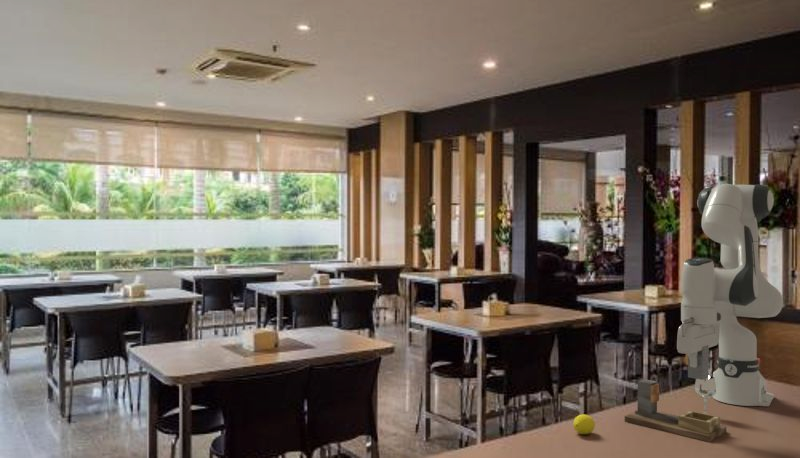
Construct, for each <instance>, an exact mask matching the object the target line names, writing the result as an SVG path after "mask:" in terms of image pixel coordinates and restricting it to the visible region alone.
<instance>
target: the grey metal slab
mask: <svg viewBox="0 0 800 458" xmlns="http://www.w3.org/2000/svg"><path fill="white" fill-rule="evenodd" d="M697 361H699V366H698V367H696V368H694V367H690V360H689V357H688V354H685V365H687V377H688V378H691V379H695V380H696V379H701V380H703V379H706V378H708V376H709V352H708V345H707V346H704V347H702V350H701V351H698V352H697Z"/></svg>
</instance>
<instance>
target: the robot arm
mask: <svg viewBox="0 0 800 458" xmlns="http://www.w3.org/2000/svg"><path fill="white" fill-rule="evenodd" d="M696 201H697V202H696V204H697V208H698V211H699V213H700V215H701V223H700V224H701V229H702V231H703V233H704V234H705V235H706V236H707V237H708V239H710V240H712V241H713V242H715V243H718V244H720V260H719V261H720V264H721V265H722V267H723V269H722V268H721V269H720V268H715V264H714V261H713V260H712V259H710V258H707V257H692V258H688V259H686V260H685V261H683V265H682V270H681V277H680V278H681V279H680V291H681V293H682V294H681V296H682V299H681V302H680V321H681V322H682V324H681V325H680V326H679V327H678V329H677V336H676V337H677V338H676V339H677V340H676V350H677V353H679V354H682V355H683V354H685V355H686V354H688V357H689V360H690V367H694V368H696V367H698V366H699V361H697V352H698V351H701V350H702V347H704V346H707V345H708V353H709V351H710V349H709V348H713V347H715V346H718V356H717V359H716V363H717V364H716V365H717V367H718V368H717V369H715V370H714V371H713V373H712V377H714V379H715V383H716V393H715V395H714V396H713V397H712V398H713V399H714V400H716V401H718V402H721V403H725V404H728V405H736V406H741V407H742V406H743V407H745V406H746V407H757V406H758V407H770V405H771V403H772V402H773V400H774V398H775V397H774V394H773V393H771V392H767V380H766V379H765V377H764V376H763V375H762V374H761V372H760V371H759V370H760V364H761V358H759V357H758V356H757V355H758V352H757V351H758V347H757V346H758V345H757V343H758V341H757V340H758V339H757V336H756V335H755V333H754V332H753V331H751V330H750V329H749V328H747V327H745V326H744V325H742V324H740V323H739V321H738V318H737V317H742V318H755V319H761V318H762V319H764V318H765V319H766V318H773V317H776V316H777V315H779V314H780V313H781V311H782V309H783V306H784V297H783V296H782V294H781V292H780V291H779V289H777V287H775V286H774V285H773V284H771V283H770V282H769V281H768V280H767V279H766V278H765V276H764V274H763V272H762V270H761V267H760V262H759V261H760V259H759V227H758V223H759V222H761V221H762V219H764V218H766V217H767V216H769V214H770V213H771V212H772V209H773V207H774V204H775V203H774V202H775V199H774V195H773V192H772V190H771V188H770V187H768V185H766V184H759V183H758V184H757V183H756V184H731V183H722V184H718V185H717V186H715V187H714V186H709V187H705V188H703V189H702V190H701V191H700V192H699V193H698V196H697V200H696Z"/></svg>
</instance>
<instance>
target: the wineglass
mask: <svg viewBox="0 0 800 458" xmlns="http://www.w3.org/2000/svg"><path fill="white" fill-rule="evenodd" d="M694 384H695V385H694V388H695V389H694V390H695V392H696V394H697V396H700V397H701V398H703V404H704V411H703V413H705V414H708V412H707V405H708V399H709V398H710V399H711V398H713V396H714V395H715V393H716V383H715V379H714V377H713V375H711V376H710V375H708V378H706V379H703V380H701V379H695V383H694Z"/></svg>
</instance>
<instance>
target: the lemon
mask: <svg viewBox="0 0 800 458" xmlns="http://www.w3.org/2000/svg"><path fill="white" fill-rule="evenodd" d="M572 425H573V429H575V431H576V432H577V433H578V434H580V435H589V434H591V433H592V432H593V431H594V430H595V420H594V419H593V418H592V417H591V416H590V415H588V414H579V415H577V416H575V417H574V420H573V424H572Z"/></svg>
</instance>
